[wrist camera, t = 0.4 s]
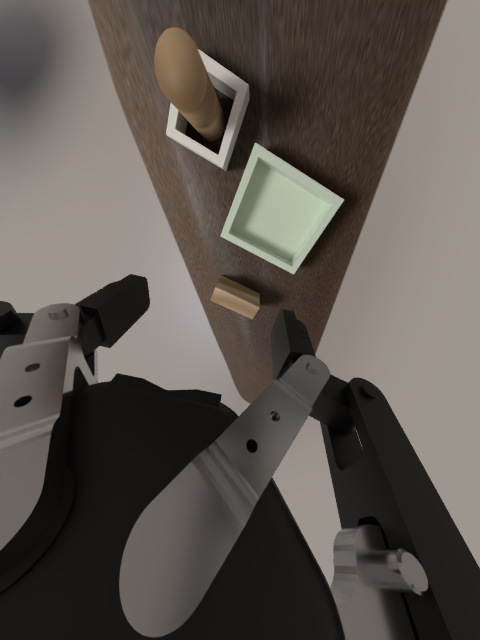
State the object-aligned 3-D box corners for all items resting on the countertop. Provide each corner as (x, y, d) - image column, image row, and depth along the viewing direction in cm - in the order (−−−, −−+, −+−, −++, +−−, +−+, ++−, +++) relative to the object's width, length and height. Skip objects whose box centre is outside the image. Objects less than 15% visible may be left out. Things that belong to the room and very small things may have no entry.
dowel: (201, 91, 23) (159, 12, 13) (229, 110, 24) (209, 48, 14) (193, 131, 25) (150, 89, 15) (219, 147, 26) (194, 116, 16)
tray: (255, 149, 26) (255, 142, 22) (334, 199, 28) (344, 199, 25) (224, 232, 32) (220, 236, 29) (290, 267, 35) (293, 274, 31)
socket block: (191, 58, 22) (181, 37, 19) (249, 98, 23) (248, 84, 20) (176, 141, 26) (165, 134, 23) (226, 171, 27) (222, 168, 25)
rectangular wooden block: (221, 275, 37) (215, 287, 32) (259, 293, 38) (259, 307, 34) (216, 287, 39) (210, 300, 34) (253, 304, 40) (252, 319, 35)
